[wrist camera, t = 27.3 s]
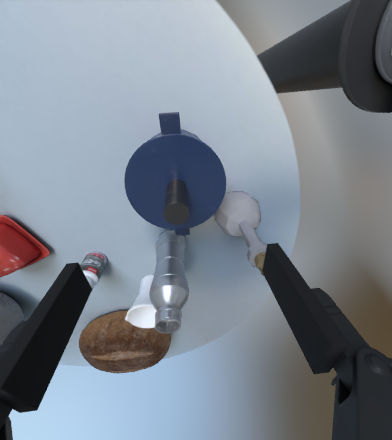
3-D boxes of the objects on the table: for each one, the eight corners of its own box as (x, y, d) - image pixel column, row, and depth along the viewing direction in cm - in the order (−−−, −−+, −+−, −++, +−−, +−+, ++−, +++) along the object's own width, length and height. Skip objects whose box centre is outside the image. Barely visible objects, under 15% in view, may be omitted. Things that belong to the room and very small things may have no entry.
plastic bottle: (150, 240, 43) (133, 331, 26) (168, 220, 40) (162, 306, 23) (173, 253, 45) (171, 343, 28) (191, 235, 43) (201, 321, 26)
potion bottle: (225, 229, 43) (252, 299, 28) (205, 201, 39) (223, 265, 23) (260, 209, 41) (310, 273, 26) (242, 177, 37) (289, 230, 21)
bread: (76, 307, 53) (57, 346, 44) (172, 305, 56) (171, 341, 48) (93, 352, 66) (81, 388, 58) (170, 348, 70) (169, 382, 61)
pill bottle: (107, 252, 43) (93, 281, 36) (107, 266, 46) (94, 297, 39) (85, 250, 42) (66, 279, 35) (86, 265, 45) (69, 295, 38)
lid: (225, 129, 24) (246, 140, 17) (223, 221, 31) (236, 255, 24) (114, 136, 23) (86, 151, 16) (138, 229, 30) (127, 267, 23)
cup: (131, 271, 47) (121, 307, 39) (168, 270, 48) (167, 305, 40) (135, 293, 52) (127, 331, 43) (169, 292, 53) (167, 328, 44)
